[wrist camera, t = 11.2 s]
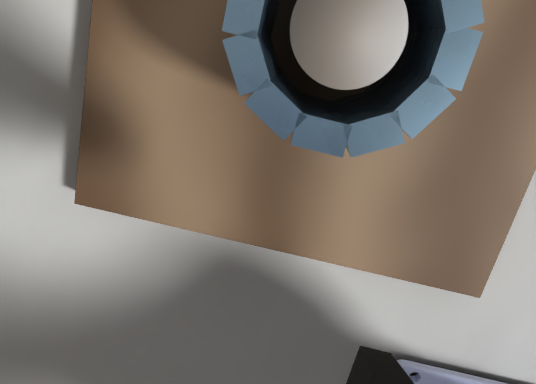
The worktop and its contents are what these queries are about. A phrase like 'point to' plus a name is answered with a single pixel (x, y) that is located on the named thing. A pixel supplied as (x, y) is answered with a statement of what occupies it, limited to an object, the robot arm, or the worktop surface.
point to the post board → (304, 160)
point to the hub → (364, 103)
